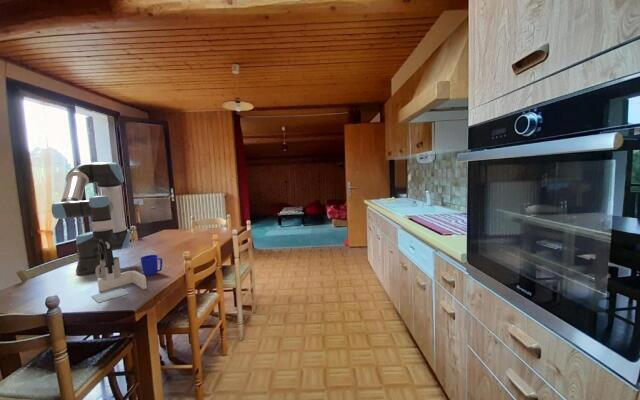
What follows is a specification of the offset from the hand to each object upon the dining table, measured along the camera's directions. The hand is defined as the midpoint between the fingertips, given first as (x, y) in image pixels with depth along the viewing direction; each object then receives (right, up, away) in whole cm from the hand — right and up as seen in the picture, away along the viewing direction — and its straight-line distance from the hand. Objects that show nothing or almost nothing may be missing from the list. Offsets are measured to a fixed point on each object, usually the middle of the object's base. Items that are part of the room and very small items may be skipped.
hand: (108, 278), depth 136 cm
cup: (0, 0, 0) cm, 1 cm away
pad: (0, -8, +1) cm, 8 cm away
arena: (+2, -7, +8) cm, 11 cm away
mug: (+5, -6, +29) cm, 30 cm away
